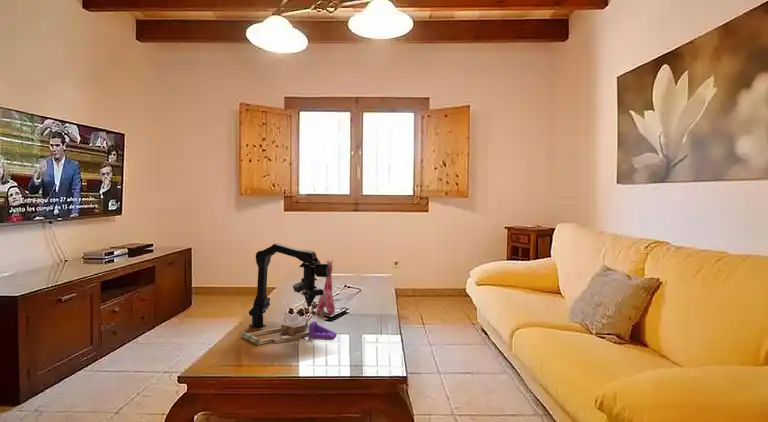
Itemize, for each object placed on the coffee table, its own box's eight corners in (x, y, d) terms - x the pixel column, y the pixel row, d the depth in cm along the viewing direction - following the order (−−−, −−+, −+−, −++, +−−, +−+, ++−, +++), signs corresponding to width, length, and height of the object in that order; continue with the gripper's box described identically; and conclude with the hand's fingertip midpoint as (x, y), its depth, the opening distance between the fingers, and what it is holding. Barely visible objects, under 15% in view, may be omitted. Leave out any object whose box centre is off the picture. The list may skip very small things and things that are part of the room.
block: (281, 333, 289) (281, 324, 288) (292, 330, 294) (292, 321, 294) (294, 336, 282) (294, 327, 282) (305, 334, 288) (305, 325, 287)
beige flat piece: (241, 337, 280) (241, 331, 280) (292, 328, 297) (292, 323, 297) (260, 346, 265) (260, 340, 265) (311, 336, 282) (311, 331, 282)
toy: (337, 307, 347) (338, 257, 346) (329, 317, 322) (329, 263, 320) (323, 307, 348) (324, 257, 346) (314, 317, 322) (314, 263, 321)
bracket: (308, 338, 280) (308, 324, 279) (312, 335, 286) (312, 321, 286) (333, 340, 278) (333, 326, 277) (336, 336, 285) (336, 322, 284)
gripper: (285, 275, 294) (285, 305, 295) (305, 280, 280) (304, 312, 281) (304, 273, 301) (304, 302, 302) (324, 278, 287) (324, 309, 288)
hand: (309, 306), depth 293 cm, fingers closed
